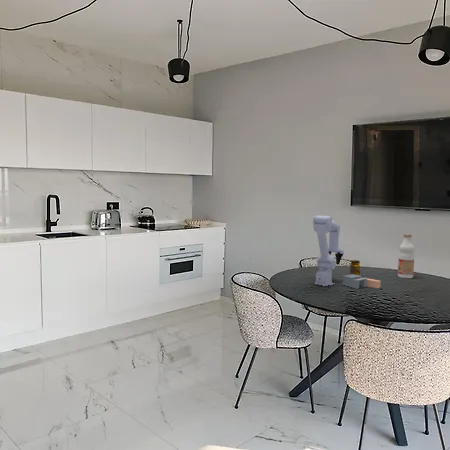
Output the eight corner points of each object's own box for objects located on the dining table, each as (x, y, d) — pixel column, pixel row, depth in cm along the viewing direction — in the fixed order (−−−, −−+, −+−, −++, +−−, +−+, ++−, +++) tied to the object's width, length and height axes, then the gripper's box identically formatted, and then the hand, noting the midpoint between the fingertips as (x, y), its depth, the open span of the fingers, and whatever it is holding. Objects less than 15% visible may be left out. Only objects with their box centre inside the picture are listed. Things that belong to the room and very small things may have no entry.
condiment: (362, 280, 282) (362, 261, 281) (349, 280, 281) (350, 261, 279) (357, 277, 289) (357, 259, 288) (344, 278, 288) (345, 259, 287)
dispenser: (343, 285, 267) (343, 275, 266) (352, 283, 272) (353, 274, 272) (357, 288, 259) (357, 279, 258) (366, 286, 264) (367, 277, 263)
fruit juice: (408, 279, 286) (410, 236, 283) (394, 276, 293) (397, 234, 290) (415, 277, 292) (418, 234, 289) (402, 275, 299) (404, 233, 296)
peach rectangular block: (363, 285, 267) (363, 279, 267) (366, 285, 269) (366, 278, 269) (377, 288, 261) (378, 281, 260) (380, 287, 263) (380, 280, 263)
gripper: (347, 243, 276) (346, 264, 278) (329, 240, 288) (328, 260, 290) (339, 244, 272) (338, 265, 274) (321, 241, 284) (321, 262, 286)
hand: (333, 263), depth 281 cm, fingers open, 7 cm apart
